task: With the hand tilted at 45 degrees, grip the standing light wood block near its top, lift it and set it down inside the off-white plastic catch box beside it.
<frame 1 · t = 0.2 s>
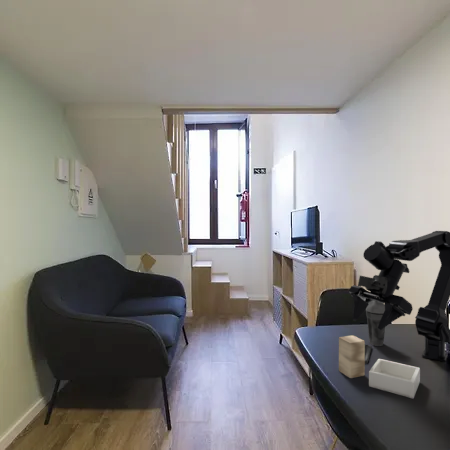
hand: (366, 324, 100), 14 cm above the table, tool tilted 35°, fingers open, 9 cm apart
wood block: (351, 373, 100), on the table
phone: (357, 354, 115), on the table
catch box: (394, 384, 93), on the table
beverage cup: (376, 344, 124), on the table
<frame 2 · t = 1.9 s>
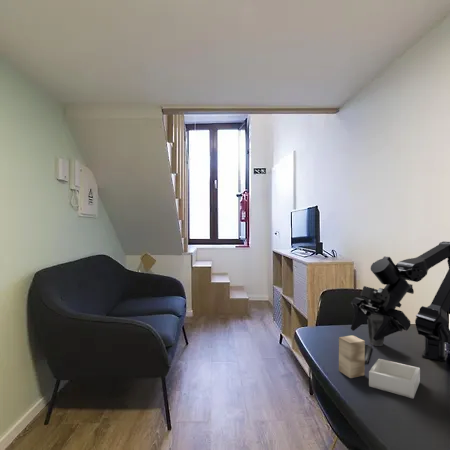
hand: (362, 334, 102), 11 cm above the table, tool tilted 45°, fingers open, 9 cm apart
nothing on the table moved.
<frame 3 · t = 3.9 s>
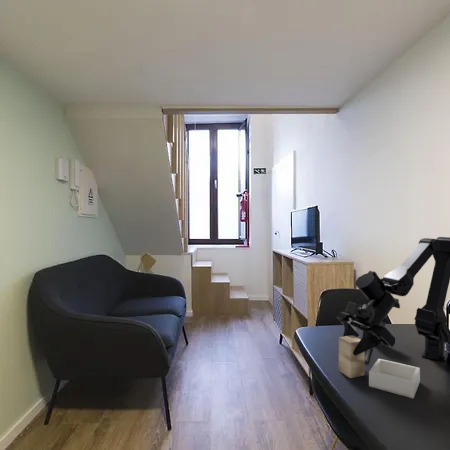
hand: (347, 351, 100), 7 cm above the table, tool tilted 45°, fingers closed on wood block, 5 cm apart
wood block: (351, 372, 100), on the table, touching gripper
everything else where it was.
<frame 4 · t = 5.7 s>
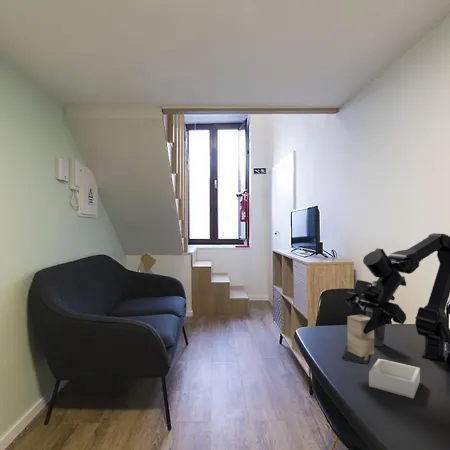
hand: (357, 330, 98), 13 cm above the table, tool tilted 45°, fingers closed on wood block, 5 cm apart
wood block: (360, 352, 99), point 7 cm above the table, touching gripper
everything else where it was.
when the fingers open (8 cm above the table, at t = 8.0 s): wood block drops 1 cm, resting on catch box.
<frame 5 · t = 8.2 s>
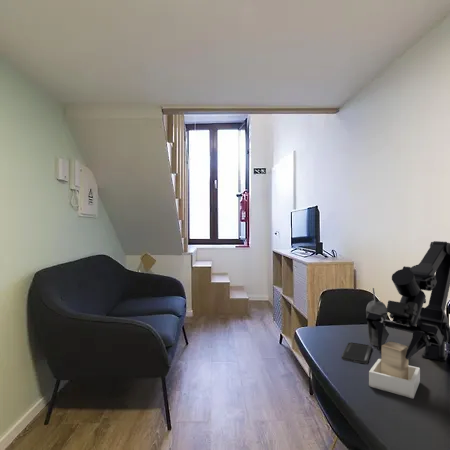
hand: (392, 354, 92), 9 cm above the table, tool tilted 45°, fingers open, 7 cm apart
wood block: (394, 382, 93), point 1 cm above the table, touching catch box
everything else where it was.
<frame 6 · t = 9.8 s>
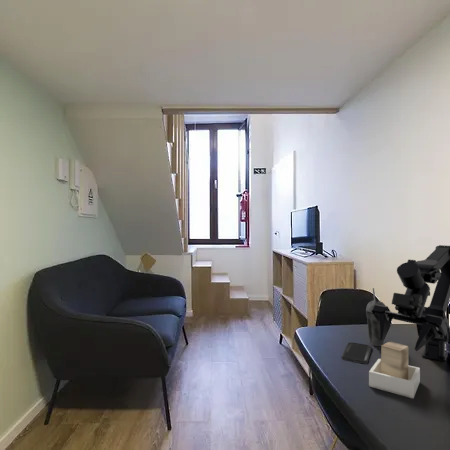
hand: (398, 345, 95), 10 cm above the table, tool tilted 45°, fingers open, 9 cm apart
nothing on the table moved.
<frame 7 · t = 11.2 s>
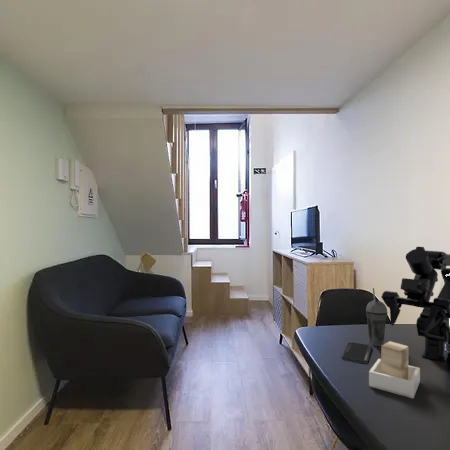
hand: (407, 328, 98), 14 cm above the table, tool tilted 45°, fingers open, 9 cm apart
nothing on the table moved.
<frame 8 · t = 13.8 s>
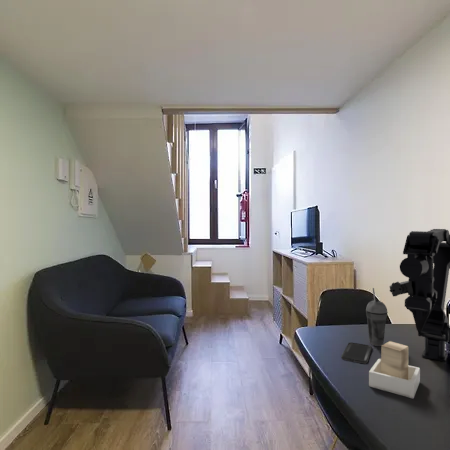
hand: (421, 326, 102), 13 cm above the table, tool pointing down, fingers open, 9 cm apart
nothing on the table moved.
at the end: wood block 0.0 cm off-centre on the catch box, point 0.5 cm above the catch box's base; the gripper is holding nothing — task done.
